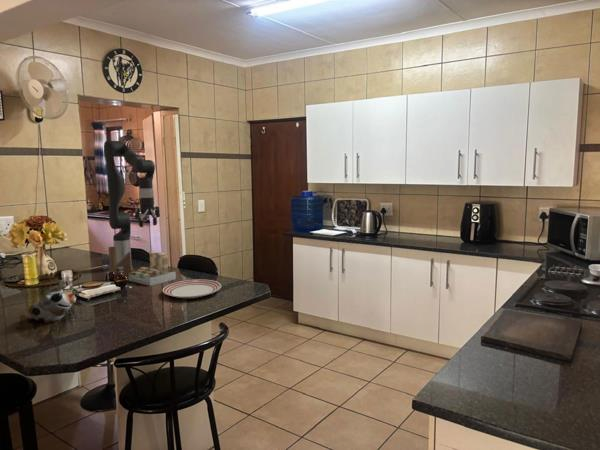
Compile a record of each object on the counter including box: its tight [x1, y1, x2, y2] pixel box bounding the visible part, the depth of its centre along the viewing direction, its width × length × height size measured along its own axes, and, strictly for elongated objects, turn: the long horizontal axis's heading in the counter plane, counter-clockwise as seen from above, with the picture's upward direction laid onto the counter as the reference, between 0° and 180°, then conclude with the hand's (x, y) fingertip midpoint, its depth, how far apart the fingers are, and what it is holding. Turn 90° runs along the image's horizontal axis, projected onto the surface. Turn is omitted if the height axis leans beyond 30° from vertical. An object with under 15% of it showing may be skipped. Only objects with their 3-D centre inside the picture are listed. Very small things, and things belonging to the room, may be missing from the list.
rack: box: [128, 270, 177, 286], centre depth 238 cm, size 18×16×4 cm
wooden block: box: [108, 246, 132, 280], centre depth 239 cm, size 4×11×18 cm, turn 123°
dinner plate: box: [162, 279, 222, 300], centre depth 213 cm, size 27×27×3 cm
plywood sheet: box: [149, 250, 169, 275], centre depth 241 cm, size 12×2×14 cm, turn 55°
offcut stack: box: [135, 266, 160, 279], centre depth 235 cm, size 14×7×6 cm, turn 55°
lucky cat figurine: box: [27, 290, 78, 324], centre depth 178 cm, size 15×12×14 cm
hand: (148, 226), depth 244 cm, fingers open, 8 cm apart
